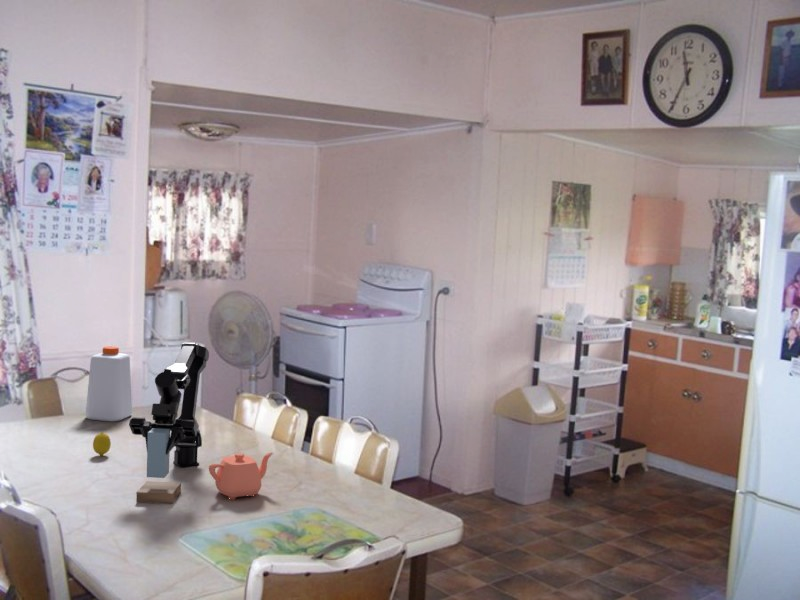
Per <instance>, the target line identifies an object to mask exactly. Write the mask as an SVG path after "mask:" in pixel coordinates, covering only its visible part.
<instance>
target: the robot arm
mask: <svg viewBox="0 0 800 600" xmlns="http://www.w3.org/2000/svg"><path fill="white" fill-rule="evenodd" d="M209 358H210V351H209V349H207V347H205V346H202V345H200V344H199V343H196V342H182V343H181V347H180V351H179V353H178V356H177V358H176V360H175V361H174V363H173V364H172V365H169V366H168V367H166V368H164V370H163V371H162V372H160V373H158V374H157V375H156V376H155V378H154V384H155V386H156V389H157V392H158V396H160V400H159V403H152V405H151V413H150V415H151V416H152V420H153V421H154V422H151V421H148V420H146V417H135V416H133V417H131V418H130V420H129V422H128V427H129V429H130V431H131V433H132V434H133V435H136V436H137V435H139V436H142V437H143V438H145V446H146V447H145V448H146V449H147V442H148V432H149V431H150V430H151V429H152V428H161V429H170V439H169V442H168V445H167V448H166V454H168V453H169V452H171V451H172V450H173V449H174V447H175V450H174V455H173V459H174V460H173V464H175V465H176V466H177V467H180V468H186V467H194V466H199V465H200V462H198V451H199V450H198V449H199V448H202V445H203V437H202V434H201V430H200V429H199V427H200V425H199V423H198V420H197V419H196V410H197V402H198V394H199V388H200V387H199V384H200V376H201V373H202V372H203V371H204V370H205V369H206V366H207V362H208V361H209ZM180 390H183V394H182V393H181V391H180ZM181 399H182V402H181ZM180 403H182V405H181V412H180V415H179V416H178V412H179V407H180Z"/></svg>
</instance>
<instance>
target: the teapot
mask: <svg viewBox="0 0 800 600" xmlns="http://www.w3.org/2000/svg"><path fill="white" fill-rule="evenodd" d="M273 454H274V452H269V453H266V454H265V455H264V456H263V458H262V460H261V464H260V466H258V463H257V462H256V461H257V460H255V458H253V457H252V456H249V455H245V453H242V452H240V453H239V452H238V453H234V455H229V456H225V457H223V458H222V460H221V461H220V463H211V464H210V465H209V466H208V472H209V474H210V475H211V477H212V478H213V480H215V481H214V482H215V487H216V489H217V490H218V492H220V494H222V495H224V496H225V497H227V499H228V498H230V499H235V498H236V499H237V497H238V498H239V497H247V495H248V496H253V495H257V494H258V493H259V492H260V490H261V488H262V479H263V478H264V477H265V476H266V473H267V468H268V467H267V466H268V461H269V459H270V457H271V456H272V455H273ZM216 469H217V470H216ZM236 499H235V500H236Z"/></svg>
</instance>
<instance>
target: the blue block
mask: <svg viewBox="0 0 800 600" xmlns="http://www.w3.org/2000/svg"><path fill="white" fill-rule="evenodd" d="M170 436H171V431H170V429H161V428H152V429H151V430H150V431H149V432H148V442H147V448H146V478H154V479H155V478H156V479H157V478H158V479H165V478H166V477H167V476H168V475H169V473H170V452H171V451H170V452H169V453H168V454H166V448H167V445H168V442H169V439H170Z"/></svg>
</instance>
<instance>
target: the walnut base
mask: <svg viewBox="0 0 800 600" xmlns="http://www.w3.org/2000/svg"><path fill="white" fill-rule="evenodd" d="M181 488H182V482H173V481H171V482H170V481H152V480H151V481H150V480H147V481H145V482H144V484H143V485H142V486H141V487H140V488H139V489H138V490H137V491H136V500H135V501H136V503H137V502H139V503H142V502H144V503H142V504H159V503H164V504H165V505H172V504H173V503H174V502H175V501H176V499H177V498H178V497H179V495H180V494H181V493H182V492H181V490H182V489H181ZM164 504H163V505H164Z"/></svg>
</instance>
